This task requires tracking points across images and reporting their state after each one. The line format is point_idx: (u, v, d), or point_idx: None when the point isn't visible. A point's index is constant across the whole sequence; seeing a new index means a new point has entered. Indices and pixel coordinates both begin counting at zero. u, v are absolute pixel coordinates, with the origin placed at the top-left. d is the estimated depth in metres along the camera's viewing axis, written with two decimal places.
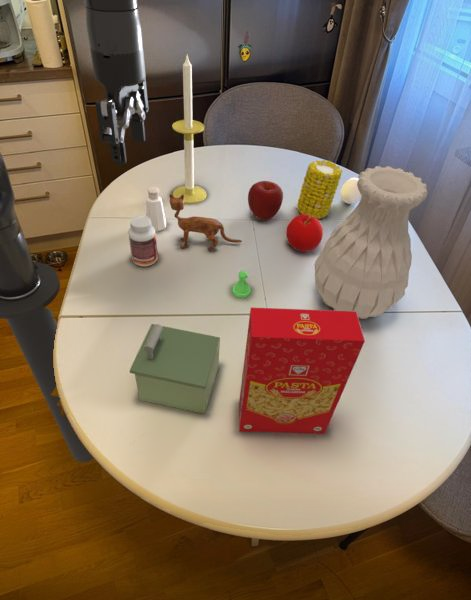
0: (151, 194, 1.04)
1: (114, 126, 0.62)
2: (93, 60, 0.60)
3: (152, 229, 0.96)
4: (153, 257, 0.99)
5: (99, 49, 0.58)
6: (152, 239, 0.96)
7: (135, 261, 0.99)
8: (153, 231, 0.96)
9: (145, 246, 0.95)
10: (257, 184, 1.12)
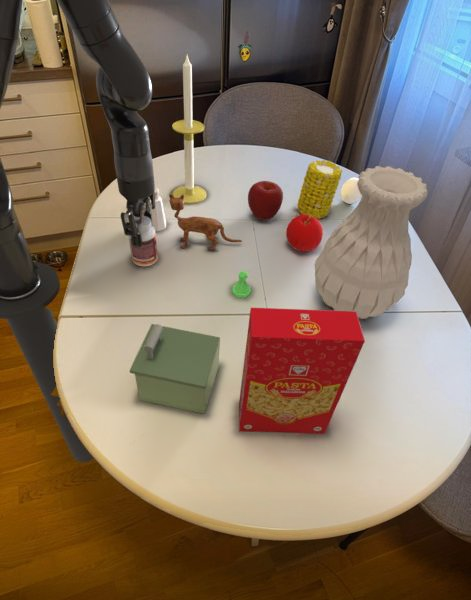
0: None
1: (134, 227, 0.88)
2: (118, 182, 0.85)
3: (152, 229, 0.96)
4: (153, 257, 0.99)
5: (123, 178, 0.83)
6: (152, 239, 0.96)
7: (135, 261, 0.99)
8: (153, 231, 0.96)
9: (145, 246, 0.95)
10: (257, 184, 1.12)
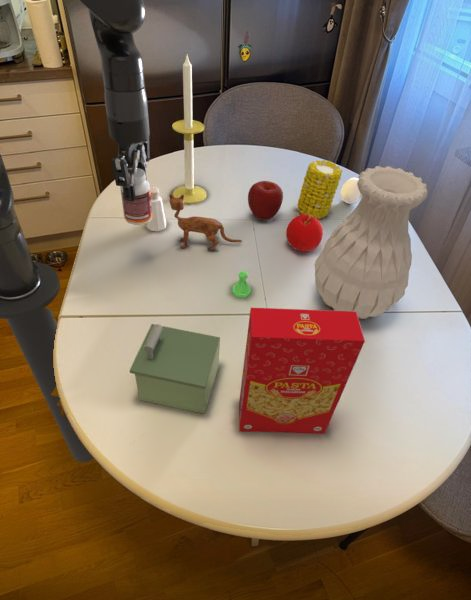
0: (151, 194, 1.04)
1: (126, 176, 0.79)
2: (109, 124, 0.77)
3: (146, 183, 0.88)
4: (147, 215, 0.91)
5: (114, 117, 0.75)
6: (146, 193, 0.87)
7: (128, 219, 0.91)
8: (147, 185, 0.87)
9: (139, 201, 0.87)
10: (257, 184, 1.12)
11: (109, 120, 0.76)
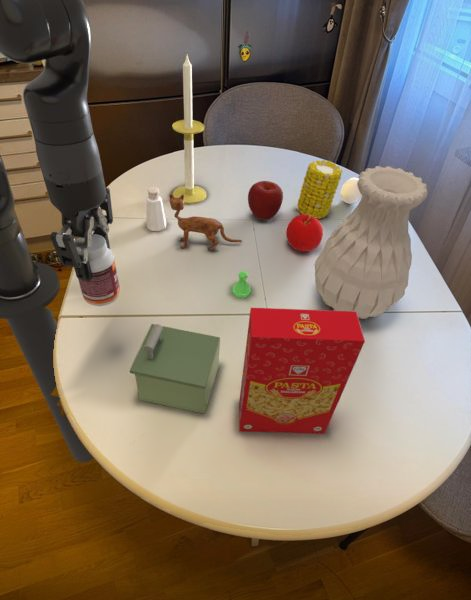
0: (151, 194, 1.04)
1: (74, 255, 0.57)
2: (46, 186, 0.54)
3: (108, 254, 0.65)
4: (112, 293, 0.68)
5: (51, 179, 0.52)
6: (108, 268, 0.65)
7: (86, 299, 0.69)
8: (110, 257, 0.65)
9: (98, 278, 0.65)
10: (257, 184, 1.12)
11: (45, 181, 0.54)
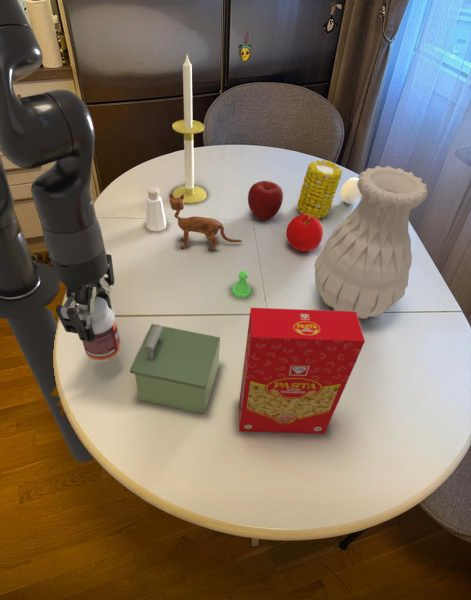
0: (151, 194, 1.04)
1: (77, 324, 0.61)
2: (52, 263, 0.58)
3: (110, 315, 0.69)
4: (113, 350, 0.72)
5: (56, 259, 0.56)
6: (110, 329, 0.69)
7: (89, 355, 0.72)
8: (111, 318, 0.69)
9: (100, 339, 0.69)
10: (257, 184, 1.12)
11: (51, 260, 0.58)
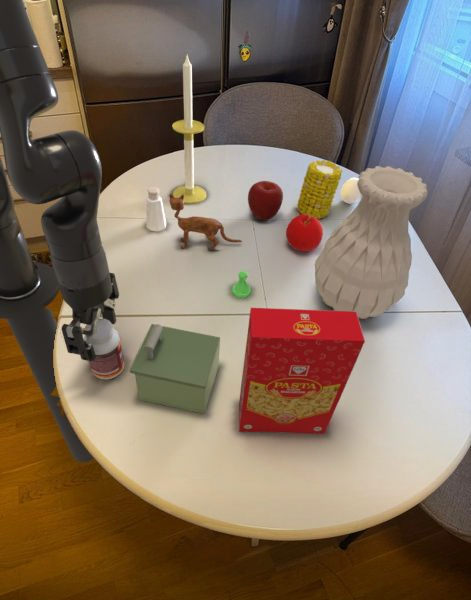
0: (151, 194, 1.04)
1: (80, 344, 0.63)
2: (59, 287, 0.61)
3: (115, 336, 0.73)
4: (117, 368, 0.76)
5: (64, 284, 0.59)
6: (114, 349, 0.73)
7: (94, 373, 0.76)
8: (116, 339, 0.73)
9: (105, 359, 0.73)
10: (257, 184, 1.12)
11: (58, 284, 0.61)
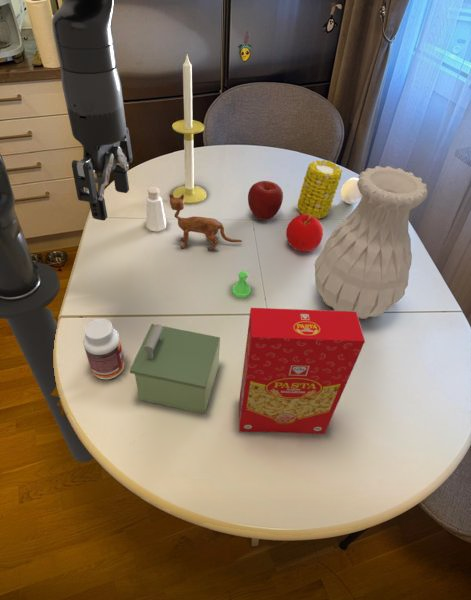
0: (151, 194, 1.04)
1: (92, 186, 0.58)
2: (70, 119, 0.57)
3: (115, 336, 0.73)
4: (117, 368, 0.76)
5: (75, 109, 0.54)
6: (114, 349, 0.73)
7: (94, 373, 0.76)
8: (116, 339, 0.73)
9: (105, 359, 0.73)
10: (257, 184, 1.12)
11: (69, 113, 0.56)
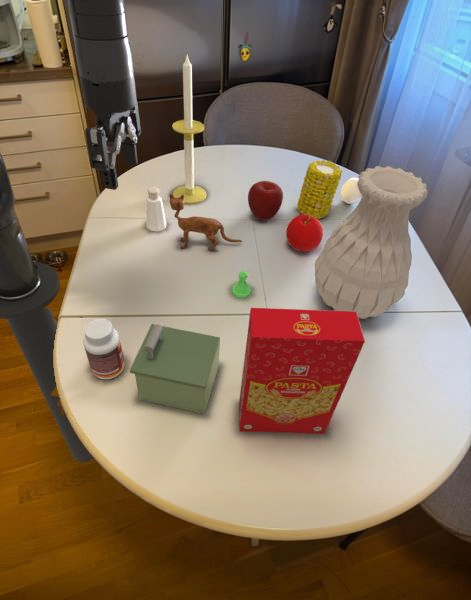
0: (151, 194, 1.04)
1: (104, 153, 0.61)
2: (83, 87, 0.59)
3: (115, 336, 0.73)
4: (117, 368, 0.76)
5: (88, 77, 0.57)
6: (114, 349, 0.73)
7: (94, 373, 0.76)
8: (116, 339, 0.73)
9: (105, 359, 0.73)
10: (257, 184, 1.12)
11: (82, 81, 0.58)
